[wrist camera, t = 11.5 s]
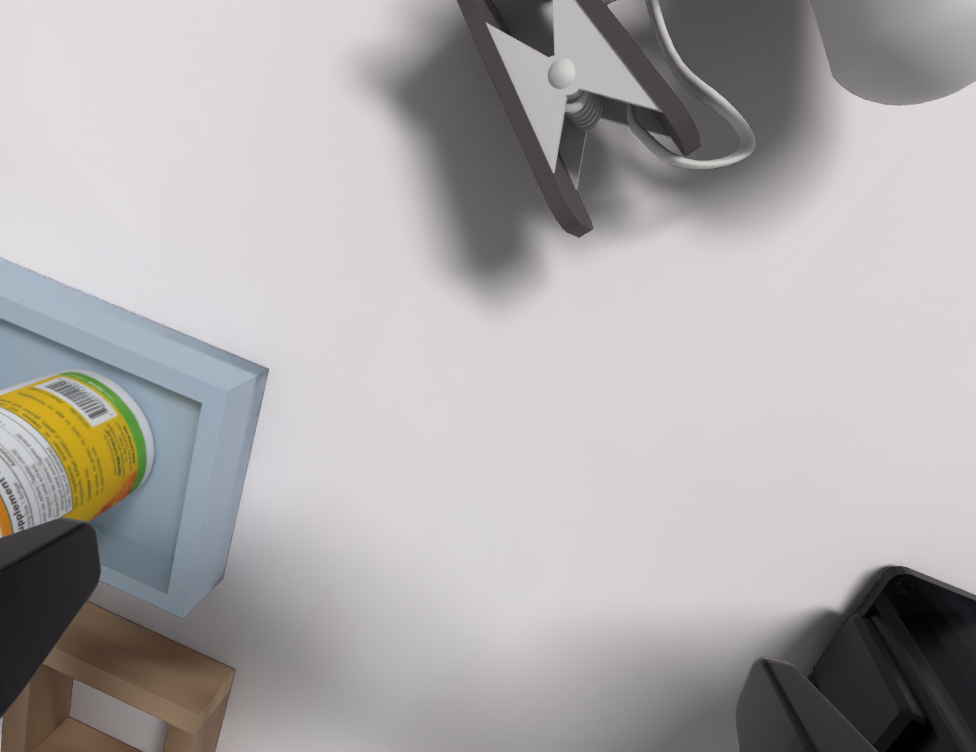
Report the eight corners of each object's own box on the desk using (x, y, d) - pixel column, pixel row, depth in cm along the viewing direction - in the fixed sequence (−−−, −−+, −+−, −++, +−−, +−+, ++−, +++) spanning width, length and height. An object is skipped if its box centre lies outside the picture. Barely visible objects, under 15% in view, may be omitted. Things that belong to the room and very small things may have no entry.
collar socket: (235, 669, 27) (199, 715, 25) (203, 798, 31) (168, 850, 28) (59, 589, 28) (8, 626, 26) (46, 723, 31) (-1, 767, 29)
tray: (268, 369, 22) (227, 391, 20) (222, 578, 26) (182, 618, 24) (-15, 252, 23) (-85, 260, 21) (-22, 469, 27) (-84, 497, 25)
